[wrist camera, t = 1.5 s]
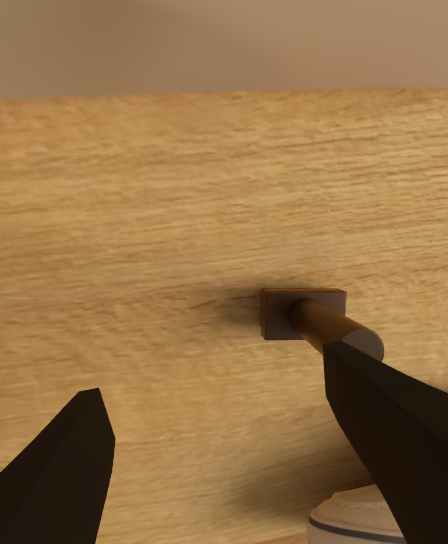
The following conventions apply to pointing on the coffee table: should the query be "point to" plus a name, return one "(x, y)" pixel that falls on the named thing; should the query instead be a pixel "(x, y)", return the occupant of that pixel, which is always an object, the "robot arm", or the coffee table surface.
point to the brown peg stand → (314, 319)
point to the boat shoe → (354, 519)
